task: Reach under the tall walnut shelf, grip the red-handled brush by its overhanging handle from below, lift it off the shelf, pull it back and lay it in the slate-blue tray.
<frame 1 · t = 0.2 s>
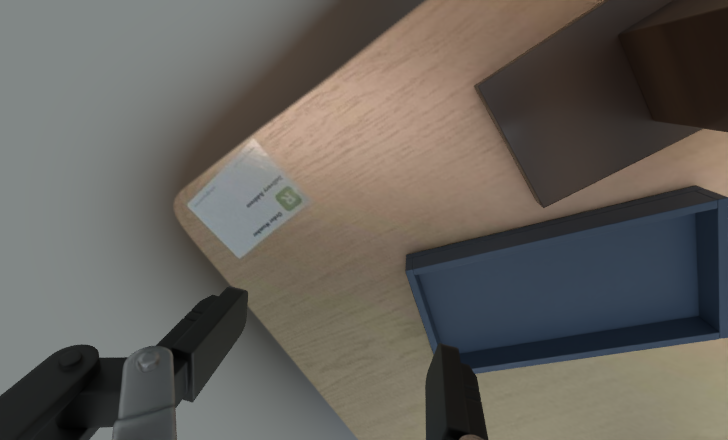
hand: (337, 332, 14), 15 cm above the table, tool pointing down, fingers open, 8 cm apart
tray: (548, 283, 28), on the table
shelf stand: (606, 89, 23), on the table
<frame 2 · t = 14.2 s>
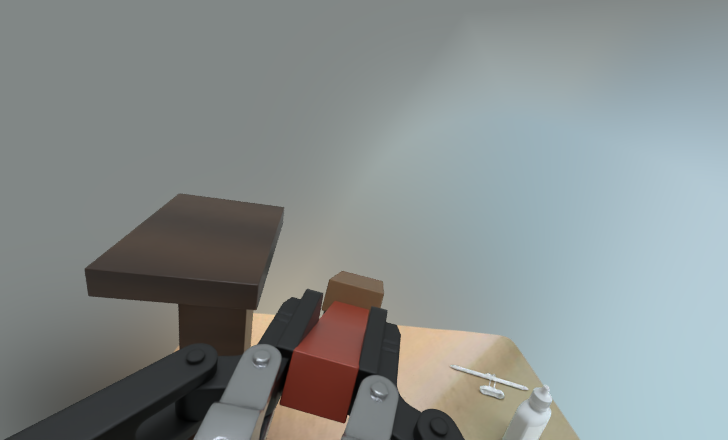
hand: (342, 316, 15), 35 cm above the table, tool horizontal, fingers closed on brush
brush: (341, 340, 19), point 31 cm above the table, tilted 25°, touching gripper
picture light: (488, 387, 60), on the table
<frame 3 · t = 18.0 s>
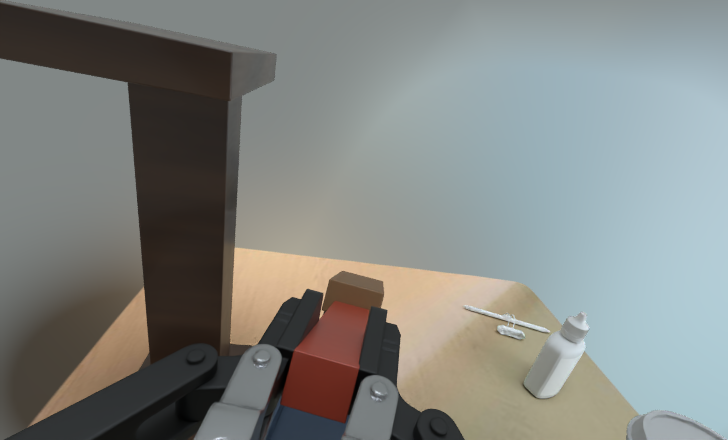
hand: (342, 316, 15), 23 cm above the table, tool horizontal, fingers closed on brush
brush: (341, 340, 19), point 18 cm above the table, tilted 28°, touching gripper
eye dropper bottle: (540, 387, 44), on the table
picture light: (506, 328, 54), on the table
shelf stand: (182, 409, 32), on the table
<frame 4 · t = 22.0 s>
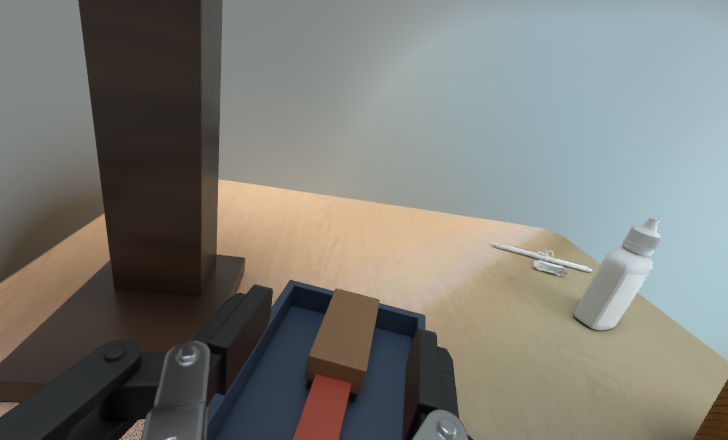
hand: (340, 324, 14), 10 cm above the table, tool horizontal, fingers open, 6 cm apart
brush: (322, 421, 19), point 1 cm above the table, touching tray
eye dropper bottle: (593, 320, 37), on the table
picture light: (543, 266, 46), on the table
shelf stand: (153, 317, 25), on the table
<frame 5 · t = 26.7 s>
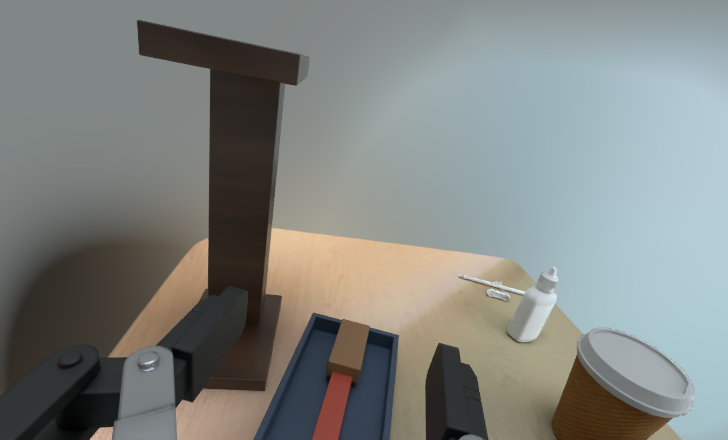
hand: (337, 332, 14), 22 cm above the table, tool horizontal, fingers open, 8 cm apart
brush: (336, 397, 35), point 1 cm above the table, touching tray
eye dropper bottle: (521, 334, 52), on the table
picture light: (495, 293, 62), on the table
tray: (332, 412, 35), on the table
shelf stand: (231, 338, 41), on the table
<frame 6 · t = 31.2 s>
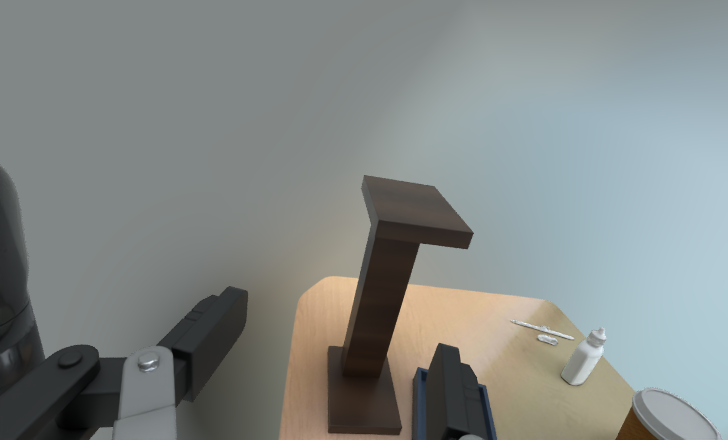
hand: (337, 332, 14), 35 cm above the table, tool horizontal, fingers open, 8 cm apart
eye dropper bottle: (572, 377, 65), on the table
picture light: (543, 336, 74), on the table
shelf stand: (359, 389, 53), on the table
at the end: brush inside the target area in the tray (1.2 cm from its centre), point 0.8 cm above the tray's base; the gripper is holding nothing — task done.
